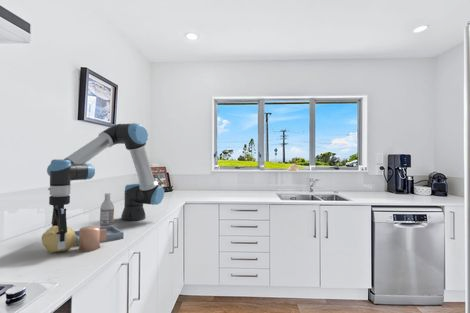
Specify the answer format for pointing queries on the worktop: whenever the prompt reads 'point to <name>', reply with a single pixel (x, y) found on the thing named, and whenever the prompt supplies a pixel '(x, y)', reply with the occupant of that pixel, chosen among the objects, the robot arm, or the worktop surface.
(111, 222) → the bath foam
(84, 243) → the peach tabbed round part
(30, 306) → the worktop surface
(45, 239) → the sculpture
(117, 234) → the tray
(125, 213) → the robot arm
